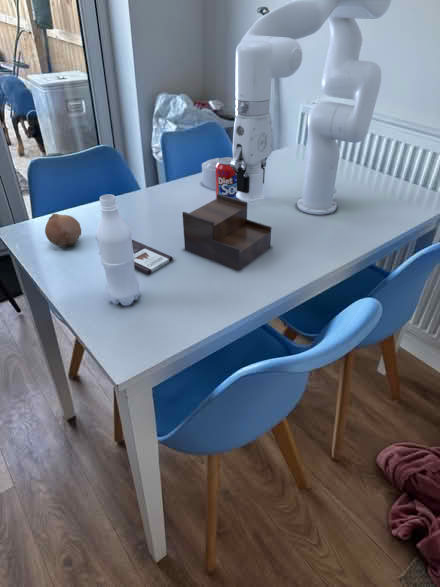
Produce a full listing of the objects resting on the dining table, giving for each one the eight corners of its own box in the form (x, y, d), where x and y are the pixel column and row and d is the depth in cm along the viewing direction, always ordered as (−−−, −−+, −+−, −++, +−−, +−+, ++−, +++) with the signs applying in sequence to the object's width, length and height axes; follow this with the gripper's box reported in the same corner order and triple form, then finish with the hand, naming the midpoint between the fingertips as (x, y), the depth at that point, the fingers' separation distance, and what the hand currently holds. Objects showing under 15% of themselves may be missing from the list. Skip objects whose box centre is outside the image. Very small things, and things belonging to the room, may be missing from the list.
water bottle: (111, 291, 101) (91, 190, 86) (141, 289, 101) (127, 189, 87) (107, 309, 95) (85, 205, 80) (139, 307, 95) (123, 203, 81)
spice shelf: (218, 229, 126) (218, 193, 119) (270, 247, 117) (272, 209, 110) (184, 250, 116) (182, 212, 110) (238, 271, 107) (238, 231, 101)
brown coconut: (58, 251, 122) (39, 219, 119) (88, 237, 124) (70, 205, 121) (54, 256, 114) (35, 222, 110) (87, 241, 115) (68, 206, 112)
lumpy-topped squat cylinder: (220, 176, 161) (220, 153, 156) (243, 186, 153) (243, 162, 148) (198, 183, 156) (197, 159, 151) (220, 193, 148) (220, 169, 143)
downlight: (266, 203, 100) (268, 161, 94) (236, 203, 100) (236, 161, 94) (263, 190, 107) (265, 150, 101) (235, 190, 107) (235, 150, 101)
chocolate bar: (126, 237, 120) (172, 256, 111) (127, 240, 121) (172, 260, 112) (101, 249, 115) (147, 271, 105) (101, 252, 115) (147, 274, 106)
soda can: (227, 198, 144) (227, 154, 136) (244, 205, 140) (245, 160, 131) (211, 205, 140) (210, 160, 131) (228, 212, 135) (228, 166, 127)
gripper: (245, 118, 84) (243, 203, 95) (287, 102, 95) (282, 179, 106) (214, 113, 88) (216, 195, 98) (259, 98, 99) (256, 173, 110)
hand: (250, 186), depth 102 cm, fingers closed on downlight, 5 cm apart
